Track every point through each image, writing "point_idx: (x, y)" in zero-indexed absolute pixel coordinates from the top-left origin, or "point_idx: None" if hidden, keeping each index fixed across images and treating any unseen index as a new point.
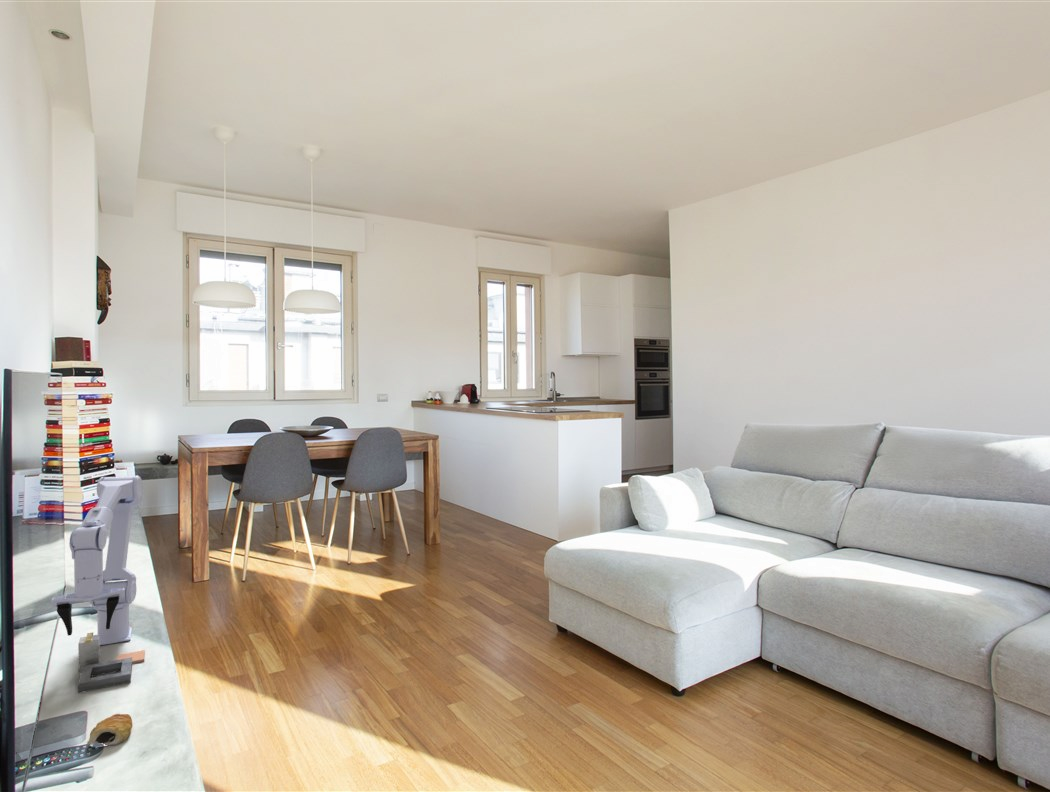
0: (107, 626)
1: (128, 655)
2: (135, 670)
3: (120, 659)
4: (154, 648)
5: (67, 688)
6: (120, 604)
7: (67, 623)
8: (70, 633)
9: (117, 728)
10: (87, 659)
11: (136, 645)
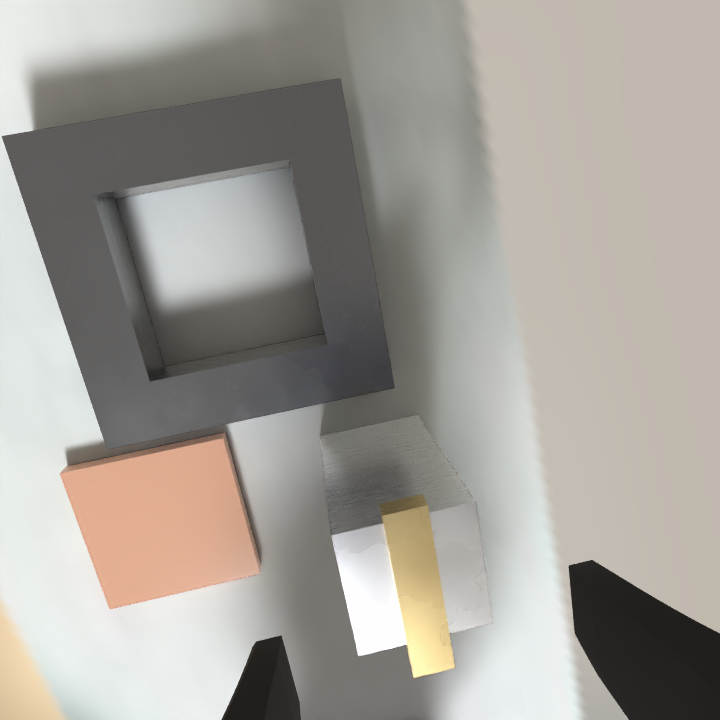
0: (264, 656)
1: (187, 552)
2: None
3: (179, 433)
4: (74, 642)
5: (418, 195)
6: None
7: (686, 635)
8: (582, 573)
9: None
10: (386, 452)
11: (202, 701)
